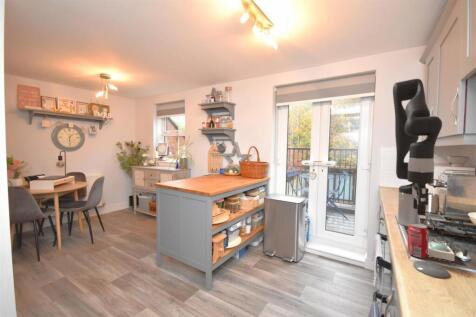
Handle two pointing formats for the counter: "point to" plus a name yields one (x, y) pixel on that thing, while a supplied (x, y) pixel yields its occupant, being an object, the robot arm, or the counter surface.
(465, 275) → the counter surface
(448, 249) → the base
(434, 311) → the counter surface
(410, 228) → the beverage can
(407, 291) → the counter surface
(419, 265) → the coaster
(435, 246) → the dome
